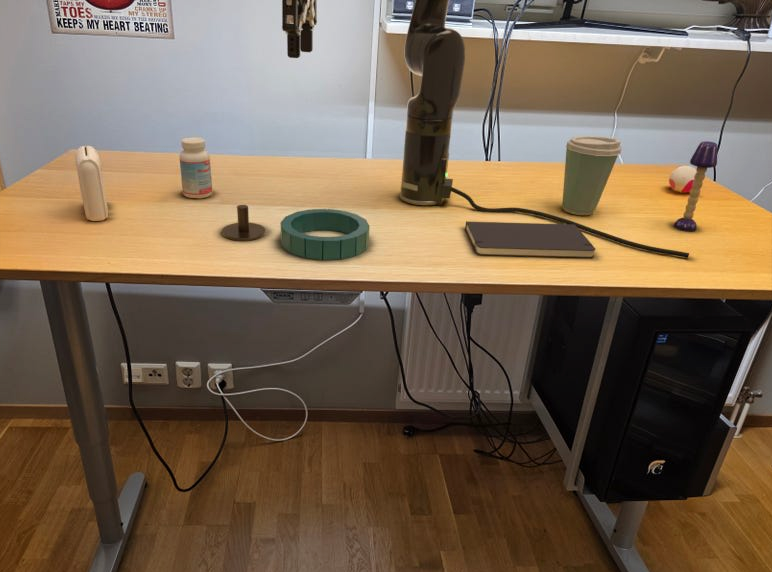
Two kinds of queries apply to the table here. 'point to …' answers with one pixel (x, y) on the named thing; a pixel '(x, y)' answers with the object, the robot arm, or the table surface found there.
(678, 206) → the table surface
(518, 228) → the notebook
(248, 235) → the peg stand
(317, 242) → the ring
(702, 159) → the toy lamp
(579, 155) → the disposable coffee cup
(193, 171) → the pill bottle
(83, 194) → the photo printer
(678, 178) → the stress ball
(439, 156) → the robot arm
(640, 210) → the table surface
